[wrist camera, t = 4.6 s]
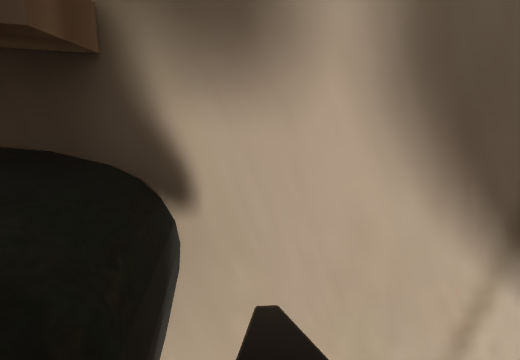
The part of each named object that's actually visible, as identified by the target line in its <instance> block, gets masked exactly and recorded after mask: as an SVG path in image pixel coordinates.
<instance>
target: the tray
mask: <svg viewBox="0 0 520 360" xmlns="http://www.w3.org/2000/svg"><path fill="white" fill-rule="evenodd" d="M0 47H4V48H20V49H36V50H53V51H69V52H86V53H99V46H98V35H97V24H96V14H95V3H93V2H92V1H91V0H0Z"/></svg>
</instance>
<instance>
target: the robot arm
mask: <svg viewBox="0 0 520 360" xmlns="http://www.w3.org/2000/svg"><path fill="white" fill-rule="evenodd" d="M236 360H328V359H327V358H326V356H325V355H324V354H323V353H322V352H321V351H320V350H319V349H318V348H317V347H316V346H315V345H314V344H313V343H312V341H311V340H310V339H309V338H308V337H307V336H306V335H305V334H304V333H303V332H302V331H301V330H300V329H299V328H298V326H297V325H296V324H295V323H294V322H293V321H292V320H291V319H290V318H289V317H288V316H287V315H286V314H285V313H284V311H283V310H282V309H281V308H280V307H279V306H277V305H270V306H256V307H255V309H254V312H253V315H252V318H251V320H250V323H249V326H248V329H247V331H246V334H245V337H244V340H243V342H242V345H241V348H240V351H239V353H238V356H237V359H236Z"/></svg>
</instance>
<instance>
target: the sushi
mask: <svg viewBox="0 0 520 360" xmlns="http://www.w3.org/2000/svg"><path fill="white" fill-rule="evenodd" d="M179 262H180V240H179V236H178V232H177V227H176V223H175V220H174V219H173V217H172V216H171V214H170V212H169V211H168V209H167V208H166V206H165V204H164V203H163V201H162V200H161V198H160V197H159V196H157V195H156V194H155V193H154V192H153V191H152V190H151V189H150V188H149V187H148V186H147V185H146V184H145V183H143V182H142V181H141V180H140V179H138V178H136V177H134V176H132V175H130V174H128V173H125V172H123V171H121V170H119V169H117V168H115V167H113V166H110V165H106V164H101V163H97V162H93V161H89V160H84V159H80V158H76V157H72V156H67V155H63V154H59V153H55V152H50V151H39V150H27V149H15V148H3V147H0V360H160V356H161V352H162V348H163V344H164V340H165V336H166V331H167V327H168V322H169V317H170V312H171V307H172V302H173V297H174V292H175V287H176V282H177V278H178V273H179Z"/></svg>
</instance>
